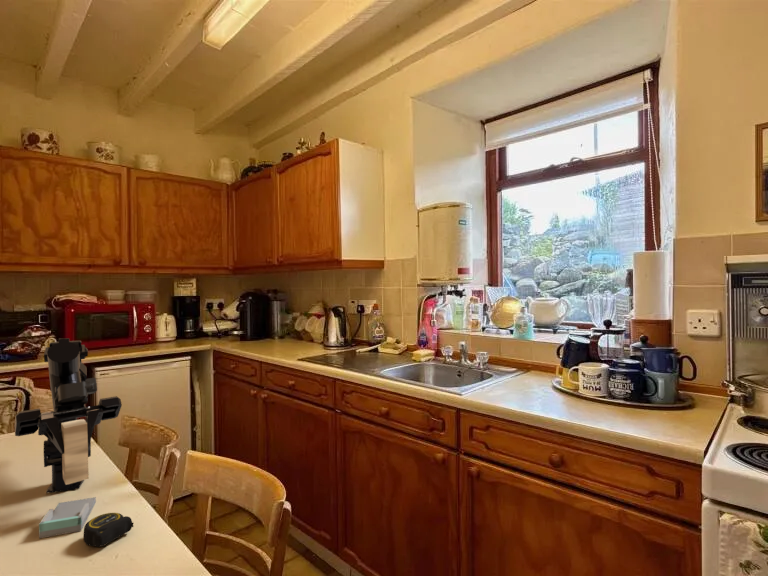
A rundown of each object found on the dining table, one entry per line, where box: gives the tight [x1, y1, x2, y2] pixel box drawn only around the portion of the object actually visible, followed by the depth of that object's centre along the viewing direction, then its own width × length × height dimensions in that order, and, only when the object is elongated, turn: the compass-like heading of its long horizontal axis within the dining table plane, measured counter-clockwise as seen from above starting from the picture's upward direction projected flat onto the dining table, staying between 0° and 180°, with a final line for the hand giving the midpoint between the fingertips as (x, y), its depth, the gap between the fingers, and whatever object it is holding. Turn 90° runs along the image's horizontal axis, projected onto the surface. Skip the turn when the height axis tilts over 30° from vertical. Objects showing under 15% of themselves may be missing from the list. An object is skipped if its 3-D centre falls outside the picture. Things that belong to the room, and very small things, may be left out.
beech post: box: [61, 418, 90, 485], centre depth 93 cm, size 4×4×12 cm
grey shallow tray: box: [38, 496, 97, 539], centre depth 90 cm, size 12×7×3 cm, turn 22°
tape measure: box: [83, 512, 134, 548], centre depth 84 cm, size 7×7×4 cm
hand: (75, 450), depth 92 cm, fingers closed on beech post, 4 cm apart
